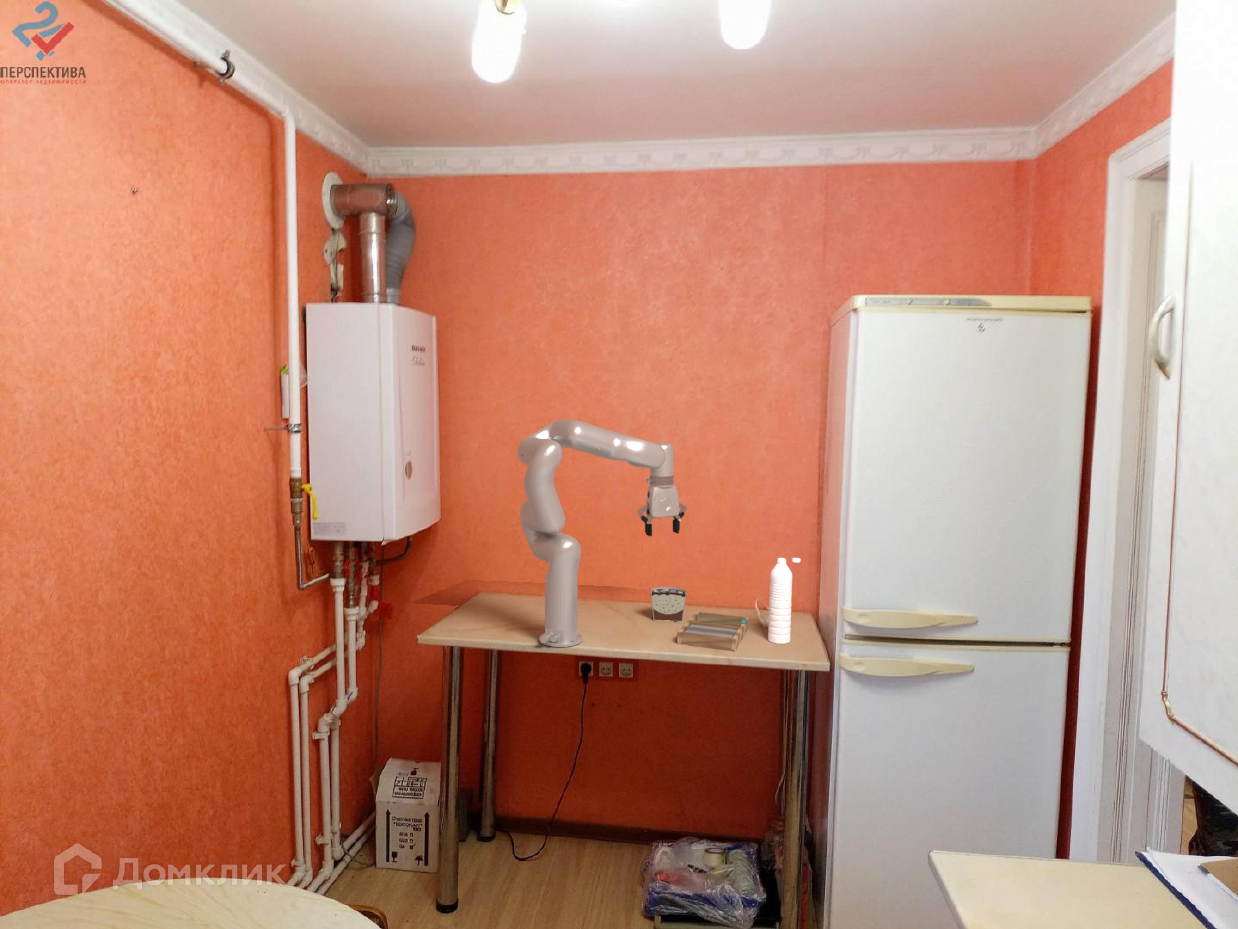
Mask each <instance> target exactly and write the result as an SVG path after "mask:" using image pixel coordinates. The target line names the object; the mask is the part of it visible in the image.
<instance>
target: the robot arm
mask: <svg viewBox="0 0 1238 929" xmlns="http://www.w3.org/2000/svg"><path fill="white" fill-rule="evenodd" d="M562 448H563V449H571V450H576V451H577V452H578V451H579V452H582V453H586V454H589V455H591V456H596V457H599V458H602V459H607V460H613V461H622V462H627V464H628V465H630V466H632V467H634V468H635V467H636V468H645V469H649V478H646V482H645V483H647V484H649V485H648V486H647V491H646V499H645V501H646V502H645V505H644V506H642V507H640V508H639V509H637V510H636V513H637V514H638V516H639V518H640V519H641V521H642V522H643V523H644V533H645V535H646V536H648V537H652V536H653V524H652V523H651V522H652V521H653V520H654V519H660V518H661V519H662V518H669V517H670V518H671V517H672V518H673V519H672V532H673V533H675V534H680V529H681V527H680V526H681V523H680V522H681V521H682V518H683V517H684V516H685V513H686V510H687V508H688V507H687V506H686V505H684V504H683V503H680V499H679V493H678V487H677V485H676V484H674V483H675V482H674V481H675V480H674V474H675V473H674V446H673V444H672V443H670V442H651V441H648V440H645V439H641V438H637V437H635V436H630V435H627V434H624V433H621V432H617V431H614V430H613V431H612V430H610V429H607V428H603V427H600V426H597V425H594V424H591V423H589V422H586V421H585V422H584V421H581V420H577V419H557V420H555V421H553V422H551V423H549V424H547V425H546V426H544V427H542V428H541V429H538V430H537V431H535V432H534V433H532V434H530V435H528V436H526V437H525V438H524V439H523V440H522V441H521V442H519V445H518V446H517V452H516V453H517V457H518V460H519V461H520V463H522V464H523V465H525V466H527V468H526V471H525V474H524V478H523V488H524V493H525V496H526V500H525V501H524V502H523V504H521V507H520V509H519V521H520V524H521V527H522V530H523V532H524V536H525V537H526V540H527V543H528V545H529V548H530V550H531V553H532V554H533V556H534V557H536V559H538V560H540V561H541V562H545V563H547V564H548V569H547V571H546V573H545V578H544V580H545V581H544V632H543V633H541V635H540V636H539V640H538V641H539V642H540V643H541V644H542V645H545V646H547V647H555V648H565V647H574V646H577V645H579V644H580V643H582V642H583V634H581V633H579V632H578V602H579V601H578V599H579V598H578V596H579V594H578V589H579V586H578V583H579V569H580V563H581V557H582V548H581V544H580V543H579V541H578V540H577V539H576V538H575V537H573V536H572V535H570V534H567V533H564V532H561V531H562V530H563V529H564V527H565V524H566V515H565V511H564V509H563V507H562V503H561V501H560V498H559V495H558V493H557V490H556V489H557V488H556V487H555V481H554V480H555V474H556V471H557V468H558V466H559V465H560V464H561V462H562V459H563V453H564V452H563V449H562ZM644 512H645V514H646V516H645V515H644Z"/></svg>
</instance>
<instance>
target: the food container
mask: <svg viewBox="0 0 1238 929" xmlns="http://www.w3.org/2000/svg"><path fill="white" fill-rule="evenodd" d="M649 597H651V607H652V619H653V621H654V619H655V620H670V621H669V622H672V621H682V622H683V621H684V613H685V605H686V598H688V593H687V591H686V589H684V588H680V587H677V586H676V587H674V586H658V587H653V588H651V590H650V593H649Z"/></svg>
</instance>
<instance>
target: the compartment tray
mask: <svg viewBox="0 0 1238 929" xmlns="http://www.w3.org/2000/svg"><path fill="white" fill-rule="evenodd" d="M749 629H750V617H748V616H747V617H746V616H738V615H729V614H721V613H713V612H702V611H695V612H694V613H693V615H692V616H691V617H690V618H689V619H688V620H687V621H686V622H685V623H684V624H683V625H682V627H681V628H679V630H678V631H677V640H676V641H677V644H678V645H683V644H688V645H687V646H691V645H695V646H694V647H698V646H701V647H700V648H706V647H707V649H715V650H722V651H729V650H736V651H737V649H738V648H739V646H740V644H741V643H742V641H743V639H744V638H745V636H746V634H747V633H748V631H749ZM746 632H747V633H746ZM741 640H742V641H741ZM740 642H741V643H740ZM738 645H739V646H738ZM737 647H738V648H737Z"/></svg>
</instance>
